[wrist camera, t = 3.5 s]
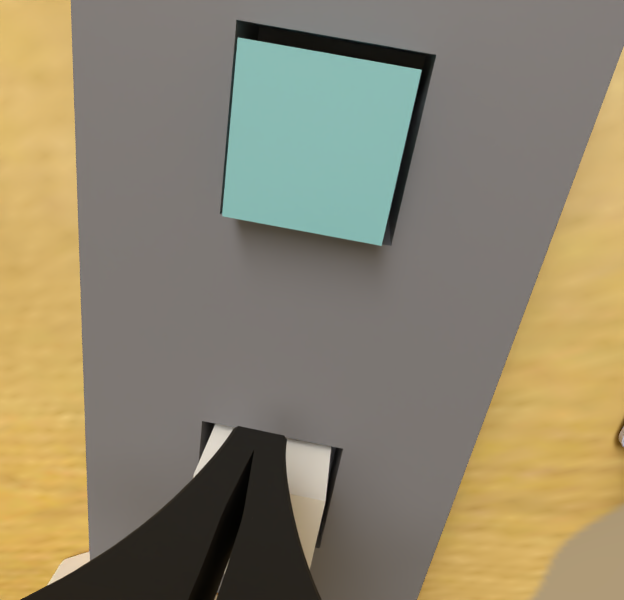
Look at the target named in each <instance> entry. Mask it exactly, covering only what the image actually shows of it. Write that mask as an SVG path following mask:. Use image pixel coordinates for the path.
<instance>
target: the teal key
mask: <svg viewBox="0 0 624 600" xmlns="http://www.w3.org/2000/svg"><path fill="white" fill-rule="evenodd" d="M421 71H422V70H420V69H414V68H409V67H403V66H397V65H392V64H386V63H380V62H375V61H369V60H363V59H358V58H352V57H346V56H341V55H335V54H329V53H324V52H318V51H312V50H307V49H301V48H295V47H290V46H284V45H278V44H273V43H267V42H261V41H256V40H250V39H244V38H238V40H237V51H236V63H235V74H234V86H233V97H232V108H231V120H230V131H229V143H228V154H227V165H226V177H225V188H224V199H223V211H222V216H224V217H229V218H235V219H240V220H245V221H251V222H256V223H261V224H267V225H272V226H278V227H283V228H288V229H294V230H299V231H304V232H310V233H315V234H321V235H326V236H331V237H337V238H342V239H347V240H353V241H358V242H364V243H369V244H374V245H380V246H382V242H383V238H384V233H385V229H386V224H387V220H388V216H389V211H390V207H391V202H392V198H393V194H394V189H395V185H396V181H397V176H398V172H399V167H400V163H401V159H402V154H403V150H404V146H405V141H406V137H407V132H408V128H409V124H410V119H411V115H412V111H413V106H414V102H415V97H416V93H417V89H418V84H419V80H420V76H421Z"/></svg>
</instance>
